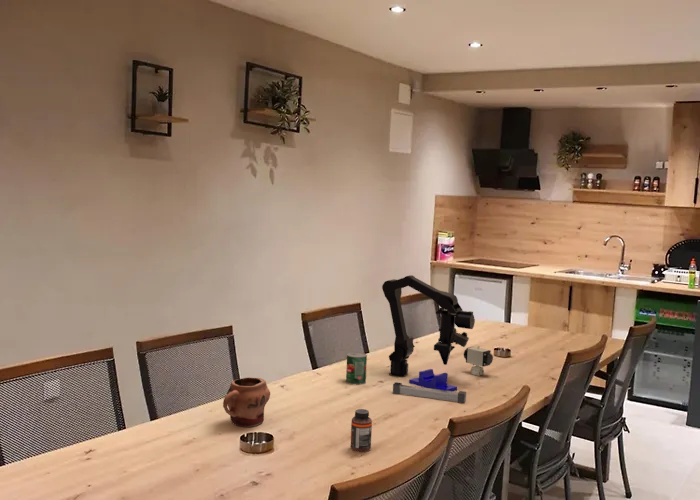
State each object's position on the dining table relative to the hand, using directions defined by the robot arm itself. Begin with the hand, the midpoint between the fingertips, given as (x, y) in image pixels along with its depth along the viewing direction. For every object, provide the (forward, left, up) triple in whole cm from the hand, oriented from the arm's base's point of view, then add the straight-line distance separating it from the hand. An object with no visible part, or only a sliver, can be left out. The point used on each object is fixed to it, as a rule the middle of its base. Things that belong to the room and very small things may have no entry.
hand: (445, 364), depth 277 cm
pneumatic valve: (+10, +19, -8) cm, 23 cm away
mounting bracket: (-3, -8, -8) cm, 12 cm away
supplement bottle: (-7, -83, -8) cm, 84 cm away
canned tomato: (-32, -16, -8) cm, 36 cm away
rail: (-1, -23, -7) cm, 24 cm away
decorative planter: (-47, -79, -8) cm, 92 cm away
